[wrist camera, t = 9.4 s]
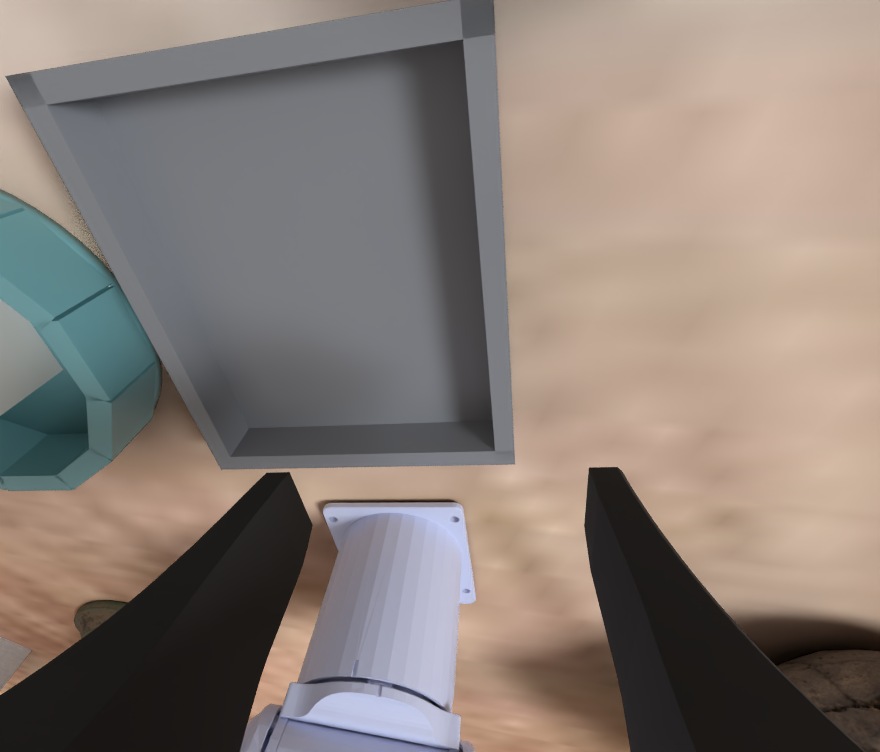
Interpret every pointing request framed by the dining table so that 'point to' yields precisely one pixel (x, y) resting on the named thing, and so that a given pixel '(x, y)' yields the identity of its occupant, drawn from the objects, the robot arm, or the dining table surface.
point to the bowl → (71, 357)
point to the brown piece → (843, 690)
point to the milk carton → (10, 659)
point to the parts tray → (307, 231)
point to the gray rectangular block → (21, 358)
